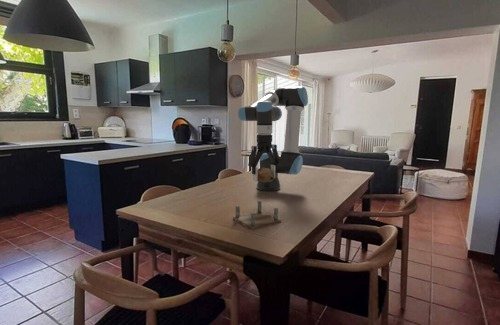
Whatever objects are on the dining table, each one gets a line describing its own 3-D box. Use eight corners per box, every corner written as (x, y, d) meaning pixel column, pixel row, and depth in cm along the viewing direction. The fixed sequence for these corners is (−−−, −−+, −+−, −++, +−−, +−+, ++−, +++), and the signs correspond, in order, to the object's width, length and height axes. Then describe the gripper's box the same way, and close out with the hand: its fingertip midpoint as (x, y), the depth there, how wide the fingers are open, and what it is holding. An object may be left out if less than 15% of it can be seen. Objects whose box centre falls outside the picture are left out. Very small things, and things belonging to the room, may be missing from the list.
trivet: (233, 219, 126) (233, 205, 125) (260, 213, 134) (260, 200, 133) (252, 230, 114) (252, 215, 113) (280, 222, 122) (280, 208, 121)
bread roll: (264, 190, 134) (270, 176, 131) (247, 178, 138) (253, 165, 135) (273, 185, 142) (280, 172, 139) (257, 175, 146) (263, 162, 143)
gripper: (249, 135, 126) (249, 183, 129) (287, 133, 138) (286, 177, 142) (240, 134, 132) (240, 180, 136) (277, 132, 144) (277, 175, 148)
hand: (264, 179), depth 139 cm, fingers closed on bread roll, 10 cm apart
